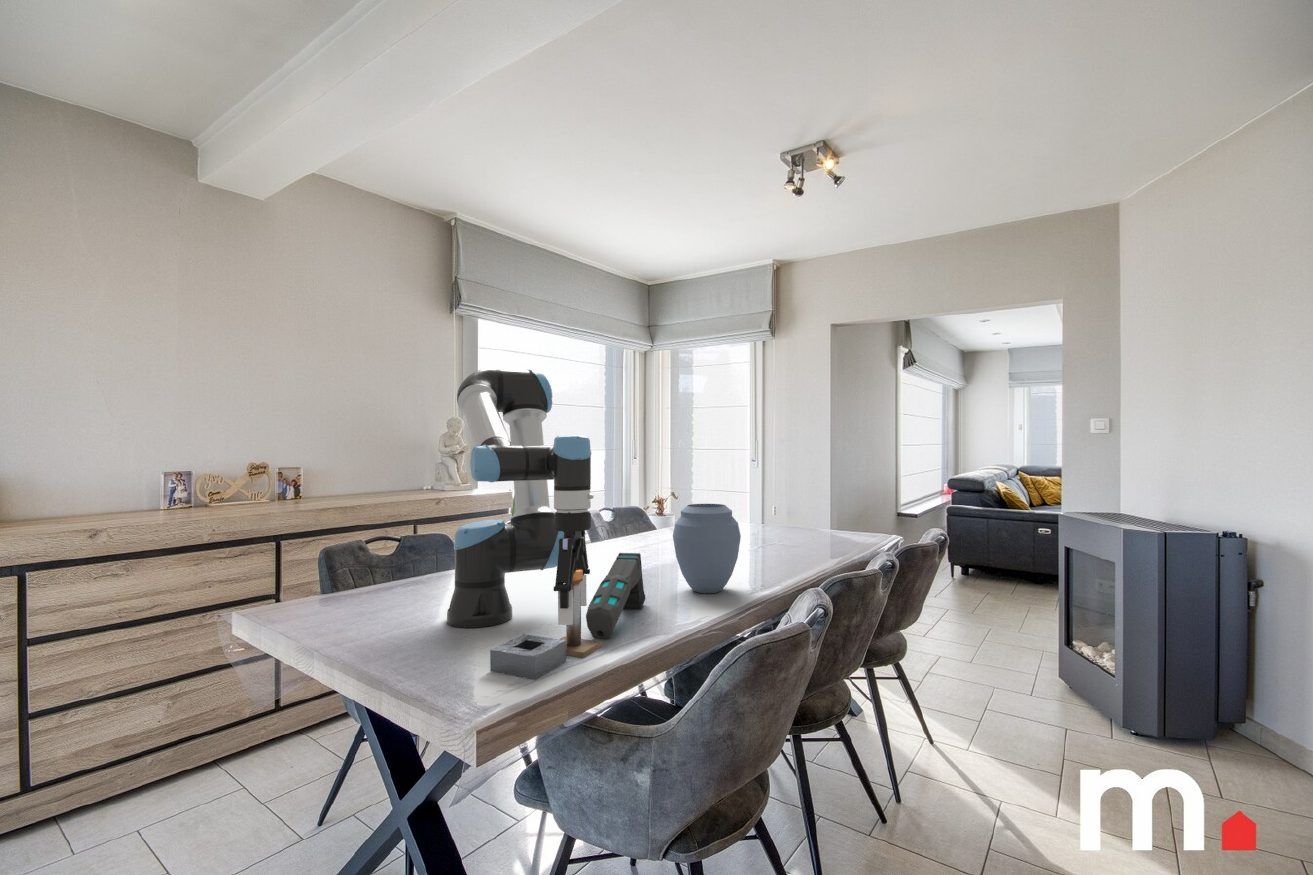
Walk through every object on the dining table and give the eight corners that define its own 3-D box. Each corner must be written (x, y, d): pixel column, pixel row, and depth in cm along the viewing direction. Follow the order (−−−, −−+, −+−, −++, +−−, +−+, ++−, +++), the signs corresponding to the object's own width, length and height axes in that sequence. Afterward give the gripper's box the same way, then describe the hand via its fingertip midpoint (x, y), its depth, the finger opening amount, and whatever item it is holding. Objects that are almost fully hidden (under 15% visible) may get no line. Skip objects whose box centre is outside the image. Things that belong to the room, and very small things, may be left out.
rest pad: (545, 651, 120) (545, 646, 120) (564, 641, 127) (564, 636, 127) (583, 657, 117) (583, 652, 117) (601, 646, 123) (601, 641, 123)
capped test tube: (581, 647, 120) (580, 572, 120) (562, 646, 120) (562, 572, 120) (584, 641, 123) (584, 568, 124) (566, 640, 124) (566, 568, 124)
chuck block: (490, 671, 110) (490, 649, 110) (523, 654, 119) (523, 634, 119) (535, 679, 106) (535, 657, 106) (566, 661, 115) (566, 640, 115)
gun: (647, 597, 157) (642, 546, 152) (619, 671, 129) (612, 611, 125) (623, 596, 158) (618, 545, 154) (590, 669, 131) (582, 610, 126)
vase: (744, 584, 178) (743, 502, 178) (738, 600, 159) (737, 509, 159) (680, 581, 182) (679, 501, 183) (666, 597, 163) (666, 508, 164)
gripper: (577, 517, 109) (578, 633, 109) (601, 504, 134) (601, 599, 134) (537, 517, 110) (538, 632, 110) (568, 504, 135) (568, 598, 134)
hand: (573, 614), depth 122 cm, fingers open, 13 cm apart
